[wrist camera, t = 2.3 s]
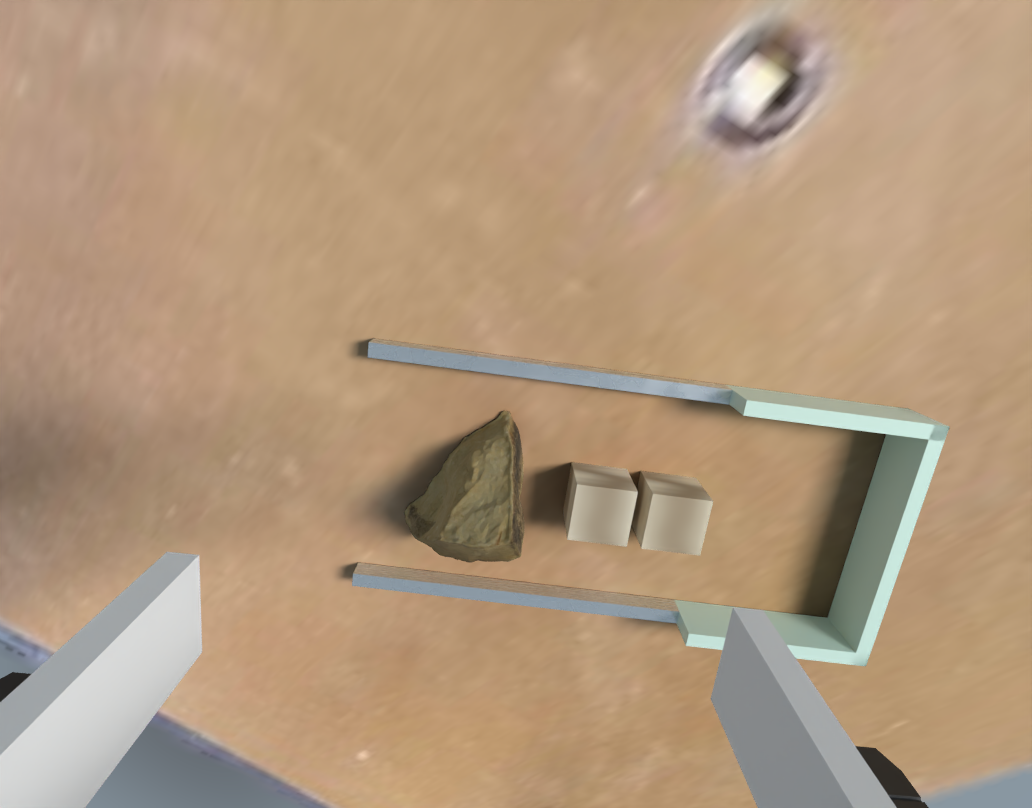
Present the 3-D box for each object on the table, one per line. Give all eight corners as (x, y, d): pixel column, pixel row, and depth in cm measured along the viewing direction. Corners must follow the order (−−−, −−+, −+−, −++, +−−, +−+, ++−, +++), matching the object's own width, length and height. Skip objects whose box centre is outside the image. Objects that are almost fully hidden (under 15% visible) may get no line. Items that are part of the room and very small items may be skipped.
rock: (413, 582, 42) (544, 567, 41) (358, 575, 35) (516, 556, 33) (410, 443, 46) (529, 424, 44) (359, 409, 39) (502, 385, 37)
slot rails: (357, 574, 45) (352, 585, 43) (373, 338, 40) (368, 342, 38) (671, 610, 46) (676, 623, 44) (725, 384, 41) (732, 390, 39)
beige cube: (630, 520, 44) (641, 548, 40) (640, 470, 43) (653, 493, 39) (683, 527, 44) (700, 555, 40) (695, 477, 43) (713, 501, 39)
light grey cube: (562, 512, 43) (567, 539, 40) (571, 461, 42) (577, 484, 38) (616, 519, 44) (626, 546, 40) (626, 468, 42) (637, 491, 39)
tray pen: (671, 610, 46) (686, 645, 42) (725, 384, 41) (747, 400, 37) (836, 630, 46) (865, 666, 42) (908, 408, 41) (949, 426, 37)
